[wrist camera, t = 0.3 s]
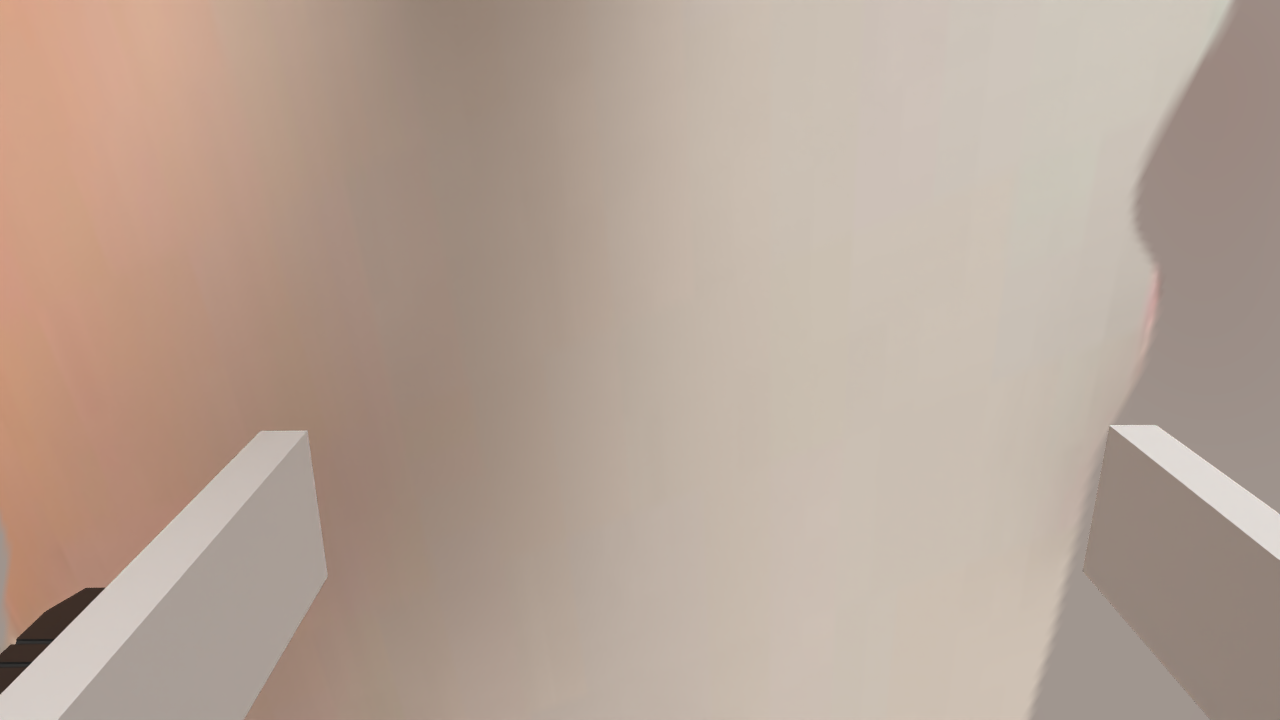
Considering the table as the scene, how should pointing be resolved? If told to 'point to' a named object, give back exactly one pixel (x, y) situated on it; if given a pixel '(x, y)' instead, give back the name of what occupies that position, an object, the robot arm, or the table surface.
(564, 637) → the table surface
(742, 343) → the table surface
